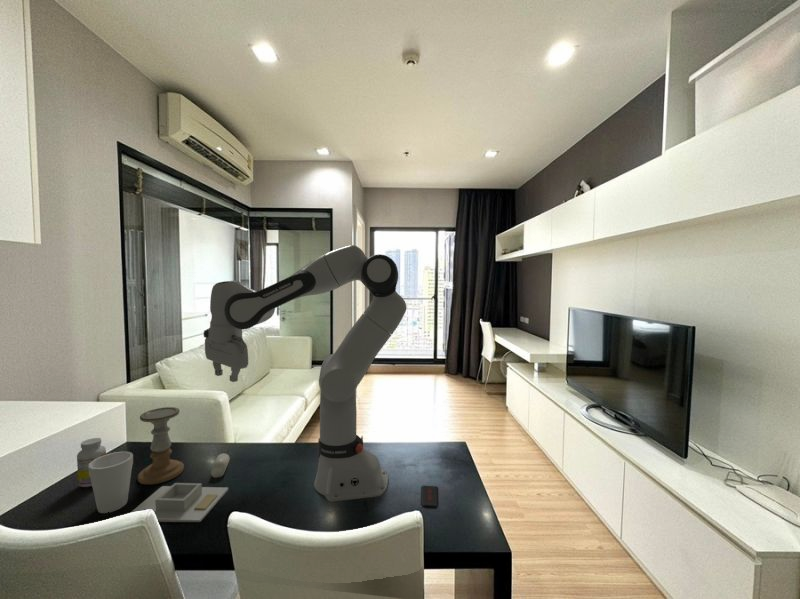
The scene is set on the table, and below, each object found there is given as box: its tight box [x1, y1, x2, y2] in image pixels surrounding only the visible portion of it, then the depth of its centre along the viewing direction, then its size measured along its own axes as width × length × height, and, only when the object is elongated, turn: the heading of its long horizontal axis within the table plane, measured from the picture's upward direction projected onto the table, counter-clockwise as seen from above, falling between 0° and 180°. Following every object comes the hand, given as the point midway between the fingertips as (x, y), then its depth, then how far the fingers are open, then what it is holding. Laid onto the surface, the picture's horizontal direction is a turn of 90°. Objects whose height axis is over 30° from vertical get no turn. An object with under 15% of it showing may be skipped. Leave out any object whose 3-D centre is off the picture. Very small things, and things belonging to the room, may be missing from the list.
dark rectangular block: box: [420, 485, 440, 509], centre depth 97 cm, size 5×12×3 cm, turn 175°
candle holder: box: [137, 406, 185, 485], centre depth 110 cm, size 12×12×20 cm
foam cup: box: [89, 451, 134, 514], centre depth 95 cm, size 10×9×13 cm
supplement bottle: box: [76, 437, 107, 488], centre depth 106 cm, size 7×7×13 cm
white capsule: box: [210, 453, 230, 479], centre depth 113 cm, size 4×4×9 cm
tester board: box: [131, 482, 229, 523], centre depth 95 cm, size 20×14×4 cm
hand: (226, 378), depth 106 cm, fingers open, 8 cm apart
